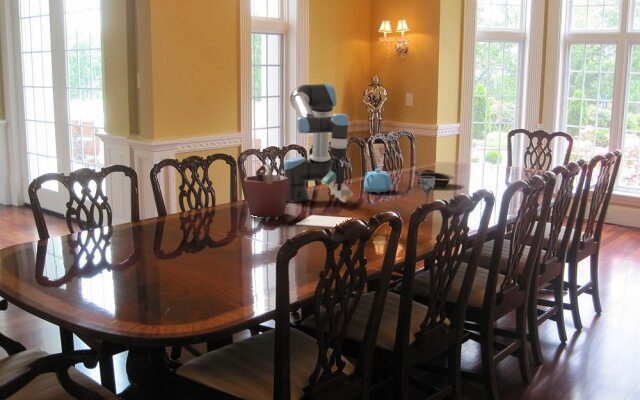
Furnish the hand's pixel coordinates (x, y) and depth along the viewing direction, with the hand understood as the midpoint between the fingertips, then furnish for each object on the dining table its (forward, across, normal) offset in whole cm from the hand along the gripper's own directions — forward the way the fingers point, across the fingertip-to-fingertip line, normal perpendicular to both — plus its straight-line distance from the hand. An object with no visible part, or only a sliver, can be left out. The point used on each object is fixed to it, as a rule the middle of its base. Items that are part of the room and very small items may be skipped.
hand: (335, 195), depth 323 cm
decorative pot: (+11, +67, -49) cm, 83 cm away
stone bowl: (+9, +72, -88) cm, 115 cm away
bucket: (+15, +25, +26) cm, 39 cm away
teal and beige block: (+1, 0, -6) cm, 6 cm away
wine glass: (+9, +20, -58) cm, 62 cm away
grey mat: (+12, -1, +3) cm, 13 cm away
